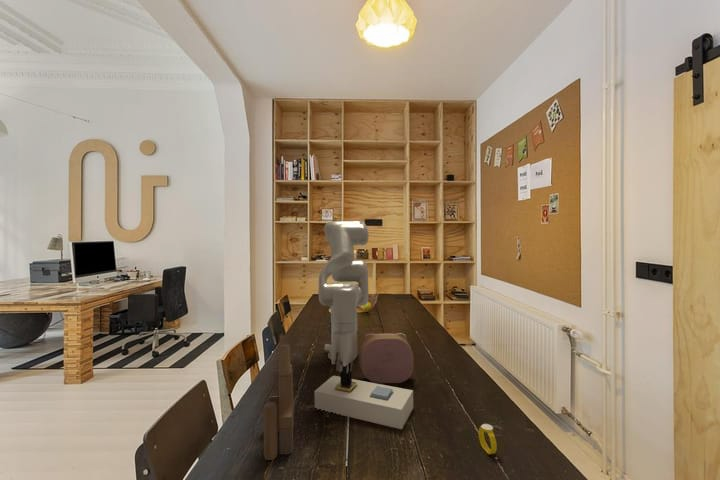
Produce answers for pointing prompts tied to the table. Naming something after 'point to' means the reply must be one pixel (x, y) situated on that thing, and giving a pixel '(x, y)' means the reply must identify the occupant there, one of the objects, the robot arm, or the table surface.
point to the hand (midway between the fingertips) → (346, 383)
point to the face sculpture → (386, 358)
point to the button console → (365, 402)
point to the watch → (489, 430)
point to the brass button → (346, 387)
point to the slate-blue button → (381, 393)
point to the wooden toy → (280, 411)
